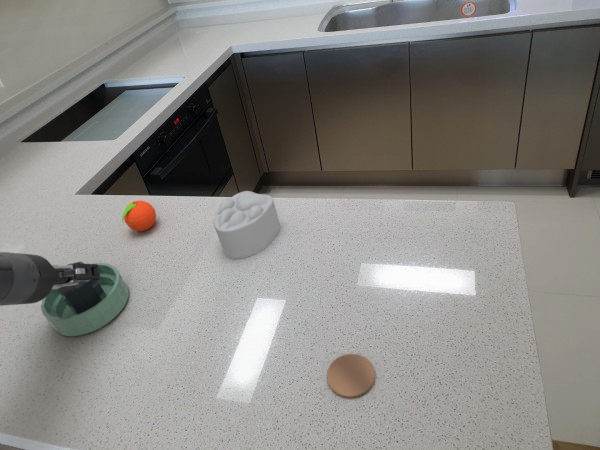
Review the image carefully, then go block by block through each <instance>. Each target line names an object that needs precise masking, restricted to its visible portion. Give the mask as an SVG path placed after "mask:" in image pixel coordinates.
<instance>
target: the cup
mask: <svg viewBox="0 0 600 450" xmlns="http://www.w3.org/2000/svg"><path fill="white" fill-rule="evenodd" d="M75 263H81V264H86V263H84V262H83V261H81V260H79V261H76V262H72V263H68V264H67V265H73V264H75ZM66 270H67V269H66ZM65 283H70V277H68V279H67V281H66V282H65ZM57 291H58V292H59V293H60V295H61V296H62V298H63V299H64V300H65V302H66V303H67V305H68V306H69V307H70V309H71V310H72V312H73V313H75V314H76V315H77V314H80V313H83V312H85V311H87V310H88V309H90V308H92V307H94V306H95V305H97V304H98V303H99V302H100V301H102V300H103V299H104V298H105V297H106V296H107V295H106V293H105V292H104V290H103V289H102V287H101V285H100V284H99V282H98V281H89V282H78V284H77V285H74V286H69V287H61V288H59V289H57Z"/></svg>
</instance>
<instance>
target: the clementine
mask: <svg viewBox="0 0 600 450" xmlns="http://www.w3.org/2000/svg"><path fill="white" fill-rule="evenodd" d="M156 220H157V213H156V209H155V207H154V206H153V205H152V204H151V203H149V202H147V201H145V200H133V201H132V202H130V203H129V204H128V205H126V207H125V209H124V211H123V214H122V218H121V221H122V222H125V225H127V227H128V228H129V229H131V230H133V231H136V232H144V231H148V230H149V229H151V228H152V227H153V226H154V224H155V223H156Z"/></svg>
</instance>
